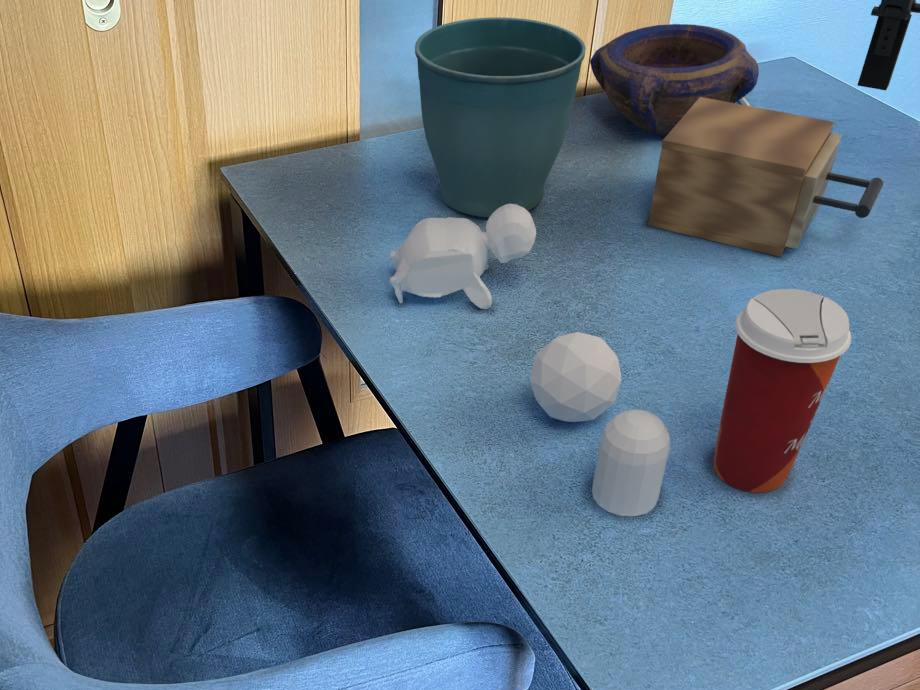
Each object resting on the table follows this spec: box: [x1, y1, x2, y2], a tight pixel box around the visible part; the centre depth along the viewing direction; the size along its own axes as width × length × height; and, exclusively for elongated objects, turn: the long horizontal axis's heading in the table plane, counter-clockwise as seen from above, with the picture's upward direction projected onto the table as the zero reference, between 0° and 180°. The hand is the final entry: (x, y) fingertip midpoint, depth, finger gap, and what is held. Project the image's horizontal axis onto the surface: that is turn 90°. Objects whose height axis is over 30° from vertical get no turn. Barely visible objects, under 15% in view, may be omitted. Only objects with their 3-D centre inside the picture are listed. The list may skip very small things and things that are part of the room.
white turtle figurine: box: [389, 204, 537, 310], centre depth 104 cm, size 9×8×15 cm
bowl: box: [589, 23, 760, 137], centre depth 131 cm, size 18×18×10 cm
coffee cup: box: [713, 288, 852, 494], centre depth 81 cm, size 8×8×15 cm
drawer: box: [785, 132, 884, 250], centre depth 111 cm, size 19×12×8 cm, turn 60°
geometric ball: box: [529, 331, 622, 423], centre depth 89 cm, size 8×8×8 cm
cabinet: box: [647, 97, 835, 258], centre depth 113 cm, size 15×13×10 cm
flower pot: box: [414, 16, 587, 218], centre depth 115 cm, size 18×18×17 cm
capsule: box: [591, 409, 671, 517], centre depth 81 cm, size 5×5×8 cm
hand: (873, 85), depth 101 cm, fingers closed
